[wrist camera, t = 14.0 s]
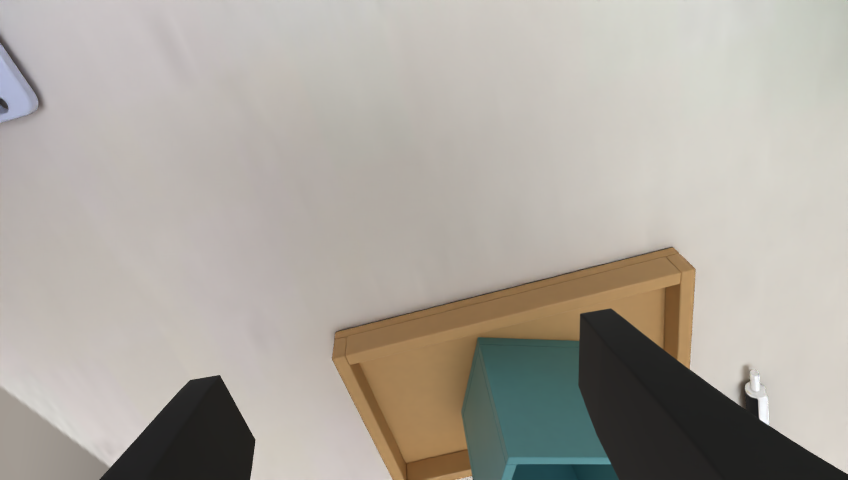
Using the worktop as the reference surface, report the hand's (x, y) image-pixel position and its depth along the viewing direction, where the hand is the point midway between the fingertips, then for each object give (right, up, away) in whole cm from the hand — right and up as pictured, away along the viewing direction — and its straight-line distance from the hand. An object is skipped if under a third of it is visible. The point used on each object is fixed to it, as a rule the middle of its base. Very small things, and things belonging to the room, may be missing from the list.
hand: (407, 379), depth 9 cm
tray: (+5, -4, +13) cm, 15 cm away
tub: (+5, -4, +13) cm, 14 cm away
